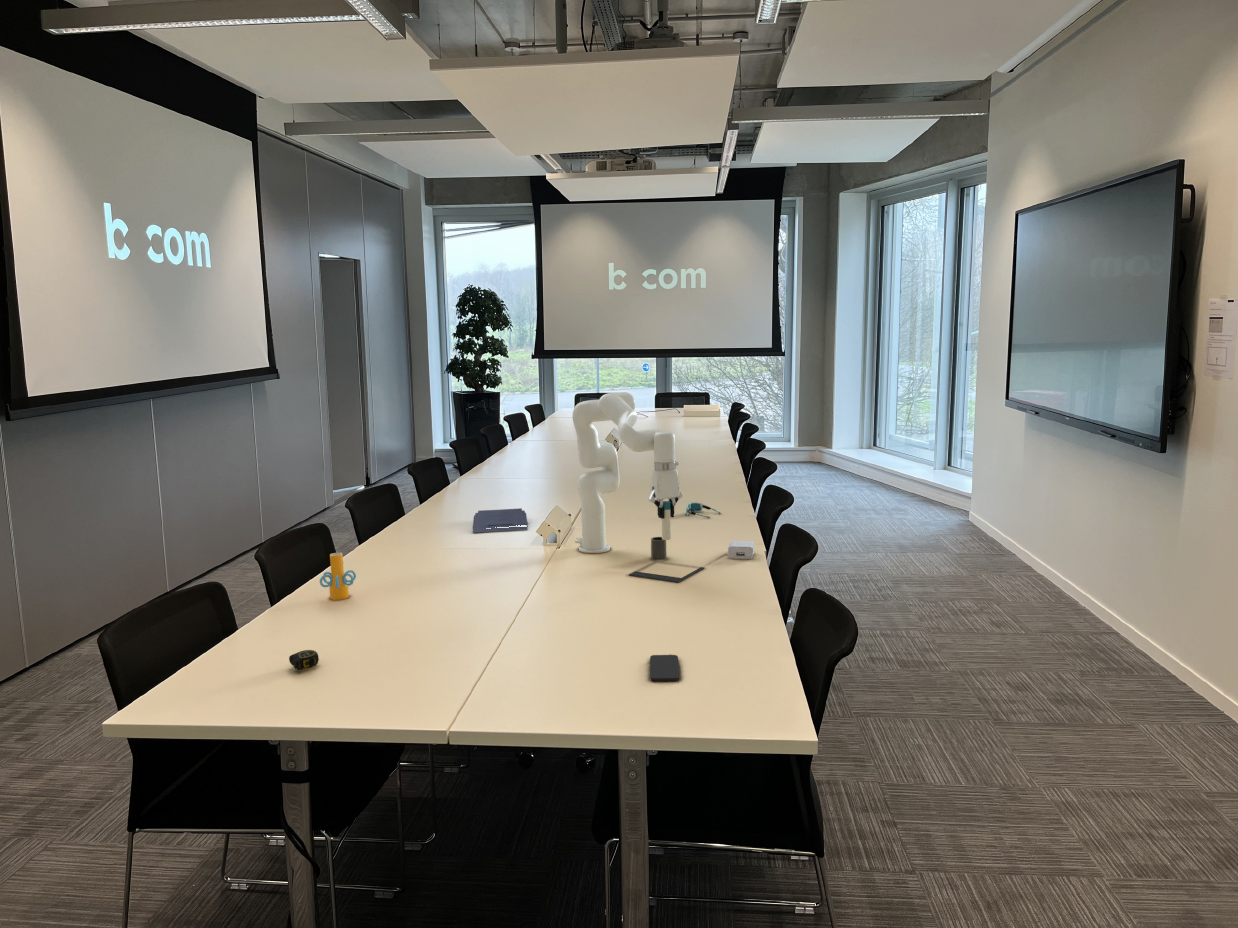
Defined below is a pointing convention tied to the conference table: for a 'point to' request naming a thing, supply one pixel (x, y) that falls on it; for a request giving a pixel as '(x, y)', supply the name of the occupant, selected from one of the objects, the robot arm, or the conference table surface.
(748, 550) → the charger
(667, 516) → the marker
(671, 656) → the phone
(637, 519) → the conference table surface
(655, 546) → the pen cup
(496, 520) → the dark grey flat slab
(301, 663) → the tape measure
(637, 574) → the mat
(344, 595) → the cylinder
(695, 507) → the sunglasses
